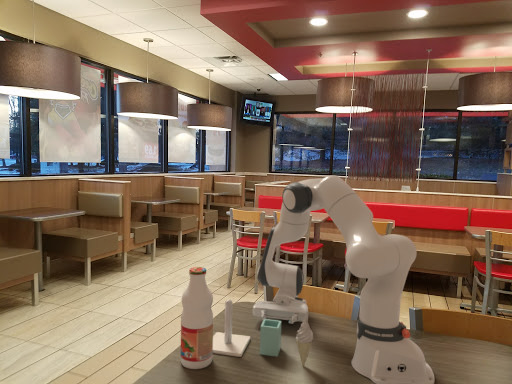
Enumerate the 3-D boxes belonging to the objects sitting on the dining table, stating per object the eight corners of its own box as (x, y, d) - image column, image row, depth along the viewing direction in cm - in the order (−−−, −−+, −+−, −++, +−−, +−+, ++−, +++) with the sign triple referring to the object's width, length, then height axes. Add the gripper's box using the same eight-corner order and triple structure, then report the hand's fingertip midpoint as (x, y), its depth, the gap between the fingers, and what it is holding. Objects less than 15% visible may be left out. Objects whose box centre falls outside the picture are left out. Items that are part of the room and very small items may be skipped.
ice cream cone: (311, 371, 108) (313, 320, 106) (293, 369, 109) (295, 318, 107) (312, 362, 113) (314, 313, 111) (295, 360, 114) (297, 312, 112)
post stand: (250, 339, 126) (251, 295, 125) (240, 356, 115) (242, 308, 114) (216, 334, 129) (217, 291, 128) (203, 351, 117) (204, 304, 116)
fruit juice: (213, 369, 108) (214, 273, 106) (179, 371, 106) (180, 274, 104) (211, 352, 117) (213, 264, 115) (181, 354, 116) (181, 264, 113)
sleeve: (280, 348, 121) (281, 320, 120) (277, 356, 116) (278, 328, 115) (263, 345, 122) (264, 318, 122) (259, 354, 117) (260, 326, 116)
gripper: (257, 294, 146) (248, 307, 132) (310, 300, 141) (306, 314, 128) (256, 310, 146) (247, 325, 133) (309, 316, 142) (306, 332, 128)
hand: (277, 319), depth 130 cm, fingers open, 8 cm apart
